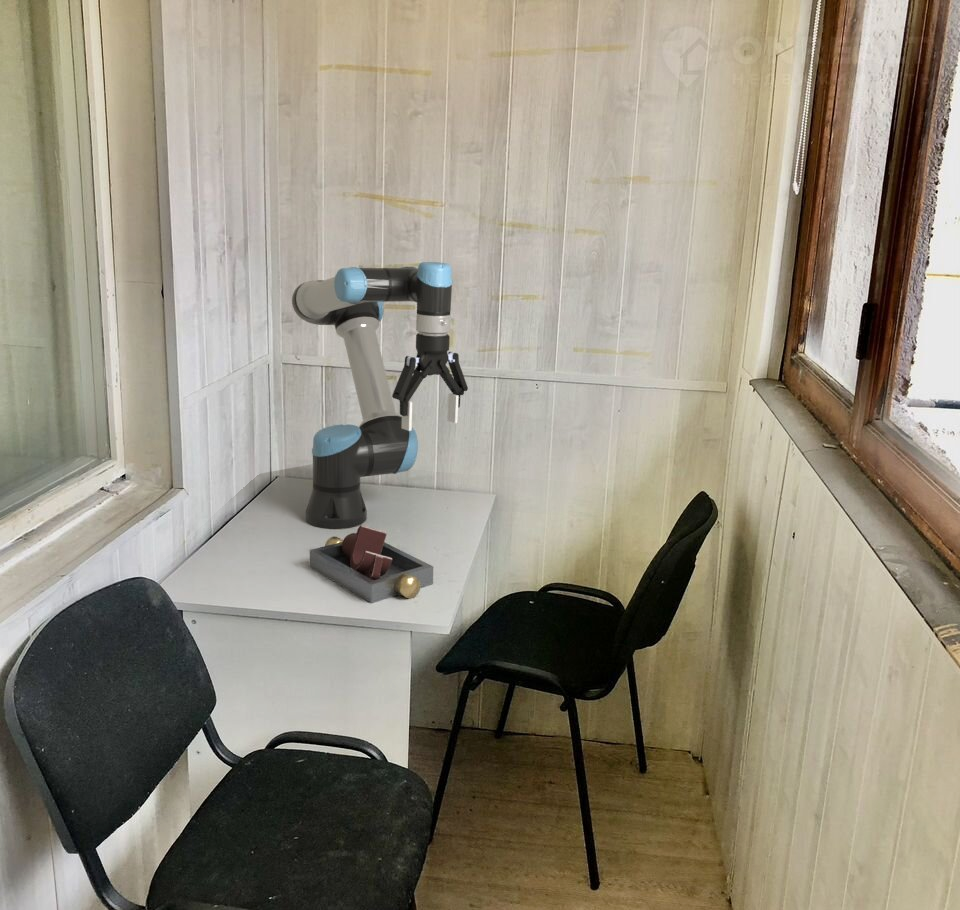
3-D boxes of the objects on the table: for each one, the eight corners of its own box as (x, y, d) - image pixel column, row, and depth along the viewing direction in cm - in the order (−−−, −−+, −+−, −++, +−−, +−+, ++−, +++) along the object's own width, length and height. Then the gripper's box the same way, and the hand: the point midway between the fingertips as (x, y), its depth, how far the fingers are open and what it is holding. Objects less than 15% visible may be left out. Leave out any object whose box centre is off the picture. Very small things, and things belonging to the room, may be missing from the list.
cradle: (302, 562, 203) (302, 544, 202) (361, 547, 214) (362, 529, 213) (380, 608, 183) (380, 587, 182) (441, 588, 193) (442, 569, 192)
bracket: (360, 576, 188) (375, 529, 189) (334, 563, 203) (348, 520, 204) (387, 583, 191) (401, 537, 192) (359, 570, 206) (372, 527, 207)
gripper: (398, 339, 194) (396, 436, 200) (485, 332, 211) (481, 422, 216) (377, 334, 199) (376, 429, 205) (463, 327, 216) (460, 415, 222)
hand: (430, 425), depth 211 cm, fingers open, 13 cm apart
